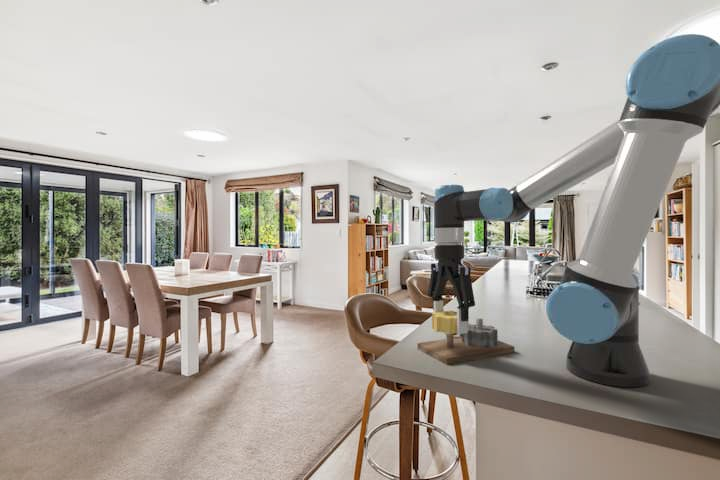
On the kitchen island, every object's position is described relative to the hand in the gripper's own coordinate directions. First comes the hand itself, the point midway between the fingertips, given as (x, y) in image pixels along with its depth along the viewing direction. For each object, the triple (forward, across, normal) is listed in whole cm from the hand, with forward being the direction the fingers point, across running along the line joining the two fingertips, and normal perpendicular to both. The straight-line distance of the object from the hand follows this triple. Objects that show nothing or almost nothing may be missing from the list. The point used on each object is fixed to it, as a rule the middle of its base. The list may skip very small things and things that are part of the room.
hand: (449, 328), depth 92 cm
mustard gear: (0, 0, 0) cm, 0 cm away
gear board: (+7, 0, -5) cm, 8 cm away
